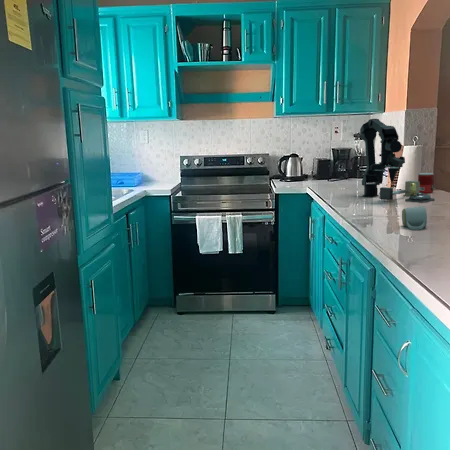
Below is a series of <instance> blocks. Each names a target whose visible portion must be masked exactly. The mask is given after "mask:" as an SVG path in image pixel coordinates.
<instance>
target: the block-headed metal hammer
mask: <svg viewBox="0 0 450 450" xmlns="http://www.w3.org/2000/svg"><path fill="white" fill-rule="evenodd" d="M405 193H407V190H406V189H401V190H396V191H394V188H393V187H384V186H383V187H379V200H385V201H393V198H394V197H393V196H395V195H396V196H397V195H400V194H405Z"/></svg>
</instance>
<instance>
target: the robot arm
mask: <svg viewBox="0 0 450 450" xmlns="http://www.w3.org/2000/svg"><path fill="white" fill-rule="evenodd" d="M359 133H360V135H361V139H362V140H363V141H364V148H365V159H366V169H365V170H364V172H363V174H364V175H363V177H362V180H361V186H364V189H363V193H364V194H363V195H361V196H362V197H366V198H367V197H369V198H373V197H374V198H375V197H380V194H378V191H379V190H378V189H379V188H378V186H380V184H383V182H384V181H383V180H384V173H385V172H386V170H385V169H387V170H388V174H389V175H388V176H389V179H390V182H391V183H393V182H394V181H395V178H396V176H397V172H398V171H400V170H401V168H403V165H404V164H405V163H406V159H405V156H399V157H396V154H395V153H398V152H400V151H401V149H402V147H403V146H402V145H403V144H402V143H401V142H400V141H399V137H400V136H399V133H398V132H397V130H396V128H395V126H394V125H387V124H385V123H384V122H382V121H381V120H380V119H379V118H370V119H368V121H366V122H365V123H362V125H361V127H360V130H359ZM377 133H378V137H379V138H380V139H381V140H380V142H379V143H380V145H381V146H380V153H379V157H380V162H378V163H376V150H375V149H376V148H375V138H376V137H377Z"/></svg>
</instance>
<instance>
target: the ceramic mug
mask: <svg viewBox="0 0 450 450" xmlns="http://www.w3.org/2000/svg"><path fill="white" fill-rule="evenodd" d="M401 221H402V225H403V227H406V228H408V229H410V230H413V231H420V230H422V229H424V228H426V227H427V223H428V222H427V221H428V215H427V208H426V207H425V206H414V207H405V208H403V209H402V211H401Z"/></svg>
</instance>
